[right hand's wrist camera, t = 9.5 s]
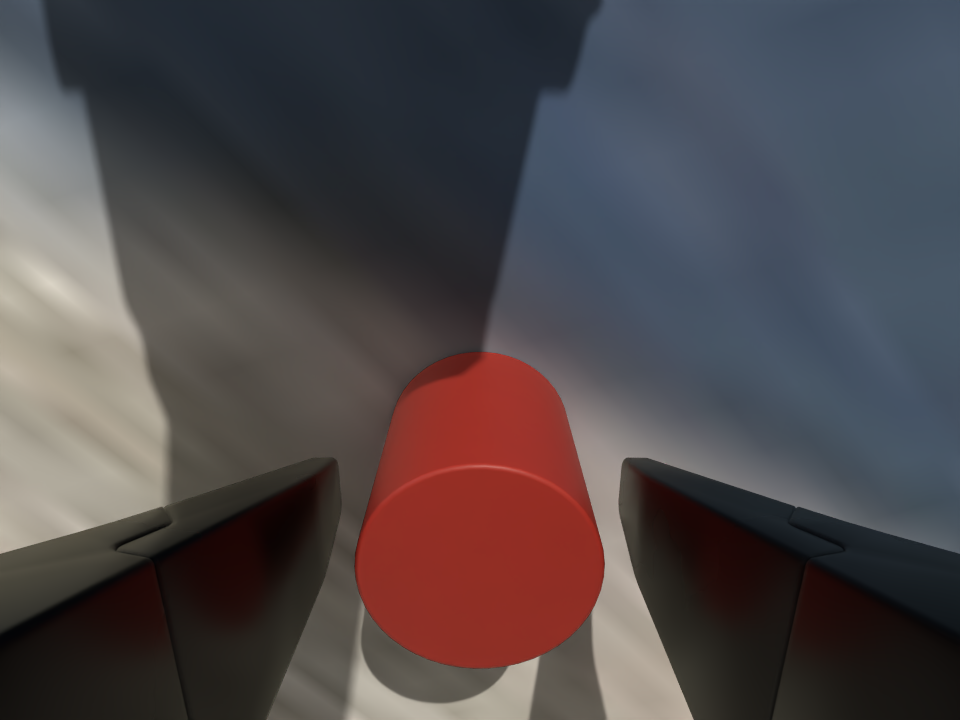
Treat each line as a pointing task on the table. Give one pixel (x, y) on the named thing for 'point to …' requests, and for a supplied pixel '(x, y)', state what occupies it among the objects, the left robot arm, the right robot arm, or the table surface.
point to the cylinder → (479, 518)
